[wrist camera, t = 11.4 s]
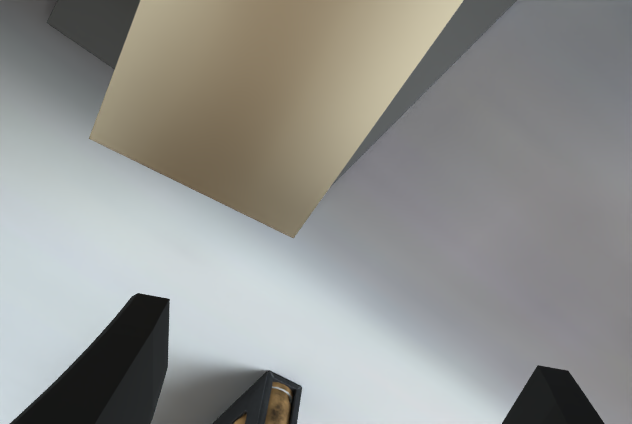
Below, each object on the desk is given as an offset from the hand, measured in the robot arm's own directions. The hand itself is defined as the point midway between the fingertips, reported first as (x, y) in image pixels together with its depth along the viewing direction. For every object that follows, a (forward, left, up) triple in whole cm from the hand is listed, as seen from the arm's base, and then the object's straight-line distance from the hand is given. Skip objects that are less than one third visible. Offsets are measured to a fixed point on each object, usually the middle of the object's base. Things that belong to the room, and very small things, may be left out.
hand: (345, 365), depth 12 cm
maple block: (+5, -4, -9) cm, 11 cm away
